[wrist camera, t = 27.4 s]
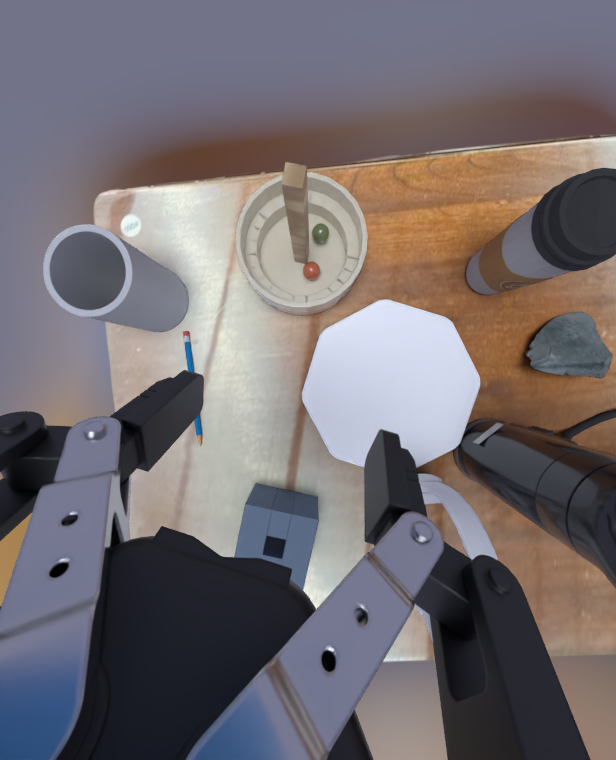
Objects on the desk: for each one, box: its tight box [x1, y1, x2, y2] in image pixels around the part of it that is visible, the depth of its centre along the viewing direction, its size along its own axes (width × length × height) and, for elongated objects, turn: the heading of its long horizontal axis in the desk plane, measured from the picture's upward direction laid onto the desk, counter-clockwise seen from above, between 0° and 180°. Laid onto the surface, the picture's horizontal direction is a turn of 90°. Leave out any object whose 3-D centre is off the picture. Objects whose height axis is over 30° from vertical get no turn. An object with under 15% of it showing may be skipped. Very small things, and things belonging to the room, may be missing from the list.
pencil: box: [183, 331, 202, 446], centre depth 39 cm, size 1×17×1 cm, turn 7°
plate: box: [302, 299, 480, 468], centre depth 38 cm, size 24×24×2 cm
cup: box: [43, 224, 188, 332], centre depth 33 cm, size 9×9×12 cm
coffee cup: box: [466, 168, 616, 295], centre depth 30 cm, size 8×8×15 cm
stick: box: [281, 162, 309, 264], centre depth 29 cm, size 2×2×16 cm
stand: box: [234, 484, 319, 590], centre depth 37 cm, size 10×10×6 cm
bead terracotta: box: [303, 261, 320, 280], centre depth 36 cm, size 2×2×2 cm
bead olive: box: [312, 223, 329, 243], centre depth 36 cm, size 2×2×2 cm
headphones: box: [415, 474, 498, 641], centre depth 30 cm, size 7×18×20 cm, turn 3°
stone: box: [525, 312, 613, 378], centre depth 36 cm, size 11×4×10 cm
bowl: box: [236, 172, 368, 315], centre depth 35 cm, size 16×16×6 cm
